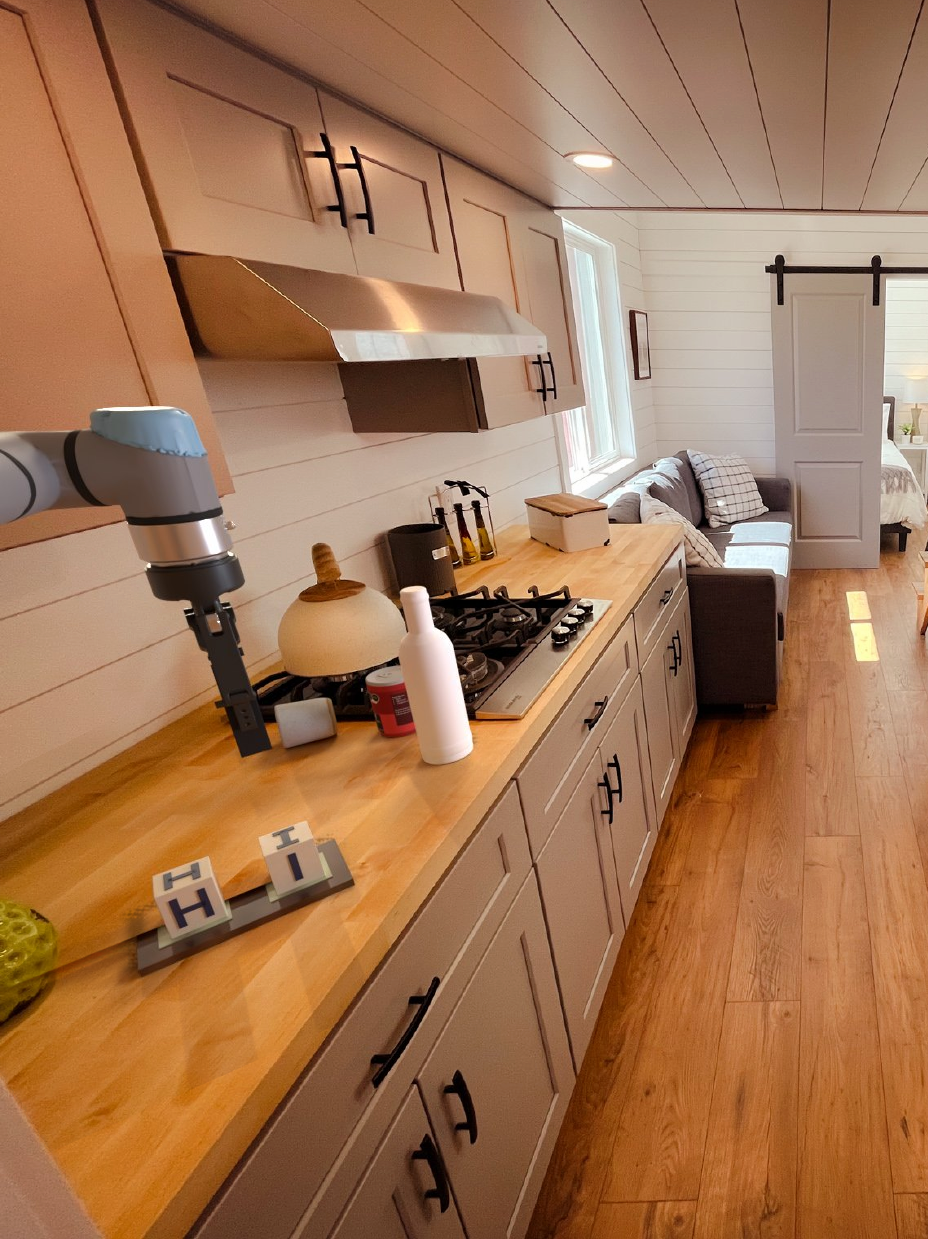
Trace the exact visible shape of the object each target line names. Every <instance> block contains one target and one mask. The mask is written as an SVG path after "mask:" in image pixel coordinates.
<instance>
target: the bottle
mask: <svg viewBox="0 0 928 1239" xmlns="http://www.w3.org/2000/svg"><path fill="white" fill-rule="evenodd" d="M399 595H400V598H399V601H400V603H401V604H402V605H401V606H402V609H403V613H404V618H405V623H406V627H407V631H408V632H406V633H405V635H404V636H403V637H402V638H401V640H400V642H399V647H398V654H397V656H398V660H399V664H400V665H399V666H401V669H402V673H403V678H404V682H405V686H406V690H407V695H408V699H409V703H410V707H411V712H412V716H413V720H414V724H415V729H416V732H415V734H416V736H417V740H418V748H419V752H420V754H421V758H422V761H424V762H425V763H427V764H430V765H434V766H435V765H436V766H438V765H439V766H440V765H441V766H442V765H448V764H451V763H454V762H457V761H460V760H462V759H464V758H465V757H467V756H468V755H469V754H471V753H472V751H473V749H474V742H473V734H472V730H471V728H470V723H469V717H468V713H467V708H466V702H465V700H464V699H465V697H464V694H463V688H462V684H461V679H460V678H461V677H460V674H459V669H458V664H457V658H456V654H455V650H454V644H453V643H452V641H451V639H450V638H449V636H448V635H447V633H445V632H444V631H442V630H440V629H438V628H437V627H436V626H435V625H434V624H435V623H434V619H433V614H432V609H431V607H430V606H431V605H430V600H429V598H430V595H429V593H428V591H427V588H426V587H425V586H421V585H414V586H407V587H404V588H402V589H401V590H400V591H399Z"/></svg>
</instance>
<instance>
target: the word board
mask: <svg viewBox="0 0 928 1239" xmlns="http://www.w3.org/2000/svg"><path fill="white" fill-rule="evenodd" d="M316 847H317V850H318V853H319V856H320V860H321V863H322V866H323V869H324V872H325V876H323V877H321V878H319V879H316V880H314V881H311V882H309V883H307V884H304V885H302V886H299V887H297V888H294V889H292V890H290V891H287V892H285V893H282V894H280V895H277V894H276V891H275V888H274V885H273V882H272V880H271V881H269V882H266V883H264V884H261V885H258V886H256V887H254V888H251V889H249V890H246V891H244V892H241V893H239V894H237V895H234V896H231V897H229V898H227V899H224V900H225V905H226V910H227V914H228V916H227V917H224V918H222V919H219V920H217V921H215V922H212V923H210V924H207V925H205V926H202V927H200V928H198V929H195V930H193V931H190V932H188V933H186V934H183V935H181V936H178V937H176V938H174V939H171V937H170V935H169V933H168V930H167V928H166V926H165V923H163V924H162V925H159V926H157V927H154V928H151V929H149V930H147V931H144V932H142V933H139V934H137V935H135V937H136V938H135V939H136V960H137V972H138V974H139V976H140V978H143V977H145V976H148V975H150V974H153V973H154V972H156V971H159V970H161V969H163V968H166V967H168V966H171V965H173V964H175V963H178V962H179V961H183V960H184V959H187V958H189V957H191V956H194V955H196V954H198V953H201V952H203V951H205V950H207V949H209V948H212V947H214V946H217V945H219V944H221V943H223V942H226V941H228V940H231V939H232V938H235V937H238V936H240V935H242V934H245V933H248V932H249V931H251V930H254V929H256V928H259V927H261V926H263V925H265V924H267V923H270V922H272V921H275V920H276V919H279V918H281V917H284V916H286V915H289V914H291V913H293V912H295V911H298V910H300V909H302V908H305V907H307V906H309V905H311V904H314V903H316V902H319V901H321V900H323V899H326V898H328V897H330V896H333V895H334V894H335V895H336V894H337V893H339V892H342V891H344V890H346V889H348V888H351V887H353V886H355V885H356V884H355V880H354V877H353V876H352V875H353V874H352V873H351V871H350V869H349V866H348V865H347V862H346V860H345V858H344V856H343V854H342V851H341V850H340V847H339V845H338V843H337V841H336V839H335V838H333V839H330V840H327V841H325V842H322V843H320V844H316Z"/></svg>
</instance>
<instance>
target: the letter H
mask: <svg viewBox="0 0 928 1239" xmlns="http://www.w3.org/2000/svg"><path fill="white" fill-rule="evenodd" d="M151 882H152V894H153V900H154V902H155V905H156V907H157V910H158V912H159V915H160V917H161V919H162V921H163V924H165V926H166V928H167V930H168V933H169V935H170V937H171V939H174V938H176V937H178V936H181V935H183V934H186V933H188V932H190V931H193V930H195V929H198V928H200V927H202V926H205V925H207V924H210V923H212V922H215V921H217V920H219V919H222V918H224V917H227V916H228V914H227V910H226V905H225V900H226V899H225V898H224V893H223V890H222V888H221V885H220V882H219V878H218V877H217V874H216V872H215V869H214V866H213V864H212V862H211V859H210V856H209V855H208V856H204V857H201V858H199V859H196V860H193V861H190V862H187V863H184V864H182V865H179V866H177V867H173V868H170V869H168V870H165V871H163V872H162V871H161V872H159V873H157V874H155V875H152V876H151Z"/></svg>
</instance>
